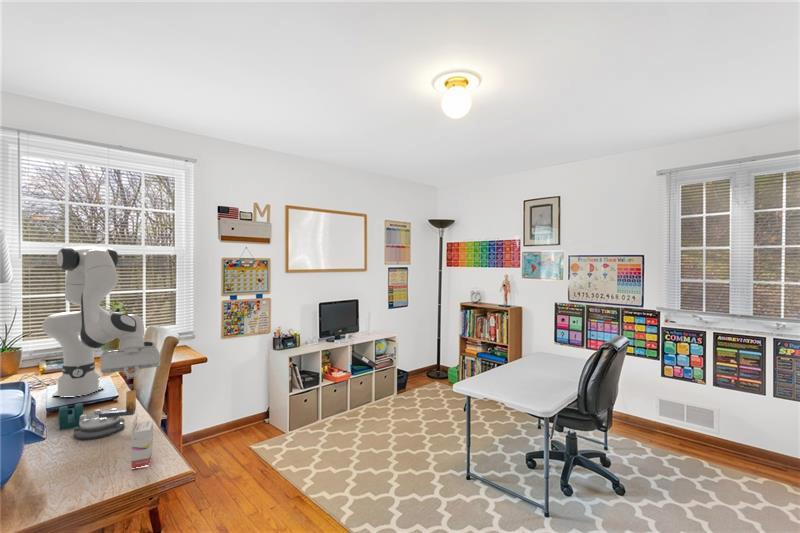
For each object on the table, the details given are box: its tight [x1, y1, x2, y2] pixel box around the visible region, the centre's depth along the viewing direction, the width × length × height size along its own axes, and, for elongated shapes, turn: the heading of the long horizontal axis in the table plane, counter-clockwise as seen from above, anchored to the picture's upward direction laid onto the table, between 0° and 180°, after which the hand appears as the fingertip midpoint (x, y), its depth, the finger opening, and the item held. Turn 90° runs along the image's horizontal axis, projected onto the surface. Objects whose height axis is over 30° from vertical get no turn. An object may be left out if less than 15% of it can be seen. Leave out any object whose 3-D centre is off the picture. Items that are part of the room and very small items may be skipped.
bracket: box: [57, 402, 84, 431], centre depth 152 cm, size 18×7×8 cm, turn 43°
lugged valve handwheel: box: [79, 389, 137, 432], centre depth 144 cm, size 18×12×12 cm
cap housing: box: [73, 417, 126, 441], centre depth 144 cm, size 15×15×2 cm
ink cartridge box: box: [130, 413, 154, 468], centre depth 122 cm, size 9×5×15 cm, turn 27°
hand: (131, 378), depth 154 cm, fingers closed
